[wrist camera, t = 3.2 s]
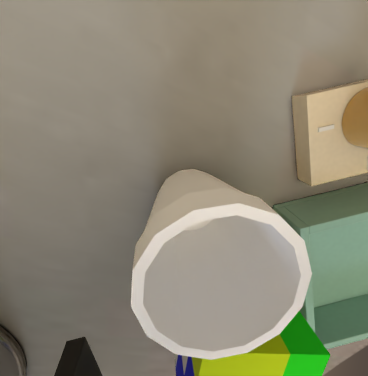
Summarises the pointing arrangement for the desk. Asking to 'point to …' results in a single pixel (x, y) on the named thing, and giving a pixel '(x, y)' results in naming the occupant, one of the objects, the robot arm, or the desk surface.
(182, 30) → the desk surface
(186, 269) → the foam cup
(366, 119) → the tap handle
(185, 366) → the puzzle toy
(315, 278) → the basin
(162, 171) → the desk surface
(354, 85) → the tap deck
